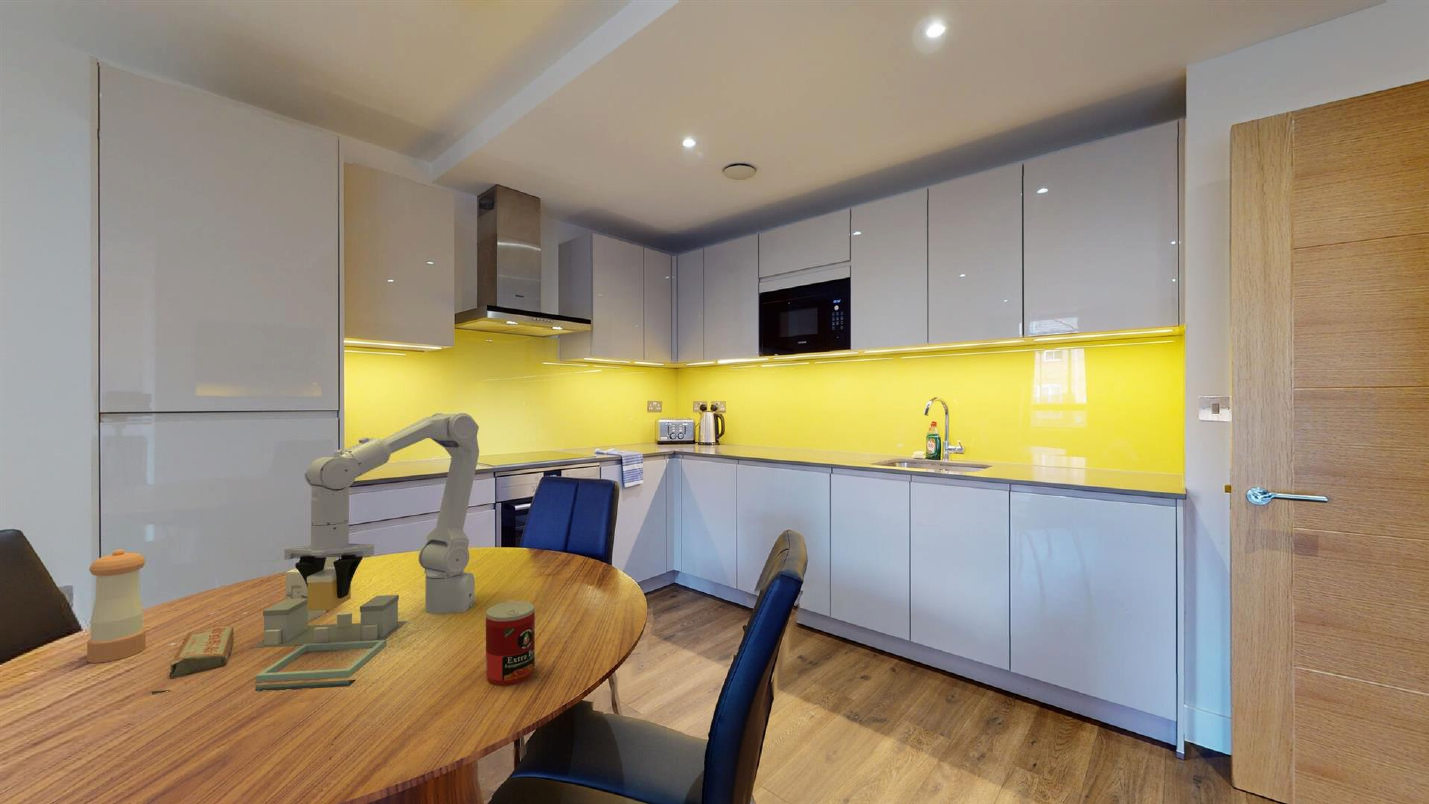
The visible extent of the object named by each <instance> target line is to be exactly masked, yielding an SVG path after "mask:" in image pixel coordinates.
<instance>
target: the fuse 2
mask: <svg viewBox="0 0 1429 804" xmlns="http://www.w3.org/2000/svg"><path fill="white" fill-rule="evenodd" d="M399 597H400V596H399V594H388V595H387V594H386V595H385V594H384V595H375V596H374V597H372V598H371V599H369V600H368V601H366V602H365V603H363V604H362V605H360V606H359V613H360V623H361V638H362V627H363V626H364V625H378V637H384V636H385V635H386V634H387V633H389V632H390V631H391V630H392V629H394V628H395V627H396V626H397V625H398V621H399V599H400V598H399Z"/></svg>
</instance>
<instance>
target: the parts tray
mask: <svg viewBox="0 0 1429 804" xmlns="http://www.w3.org/2000/svg"><path fill="white" fill-rule="evenodd" d="M385 647H387V639H386V640H374V641H354V642H333V643H313V644H304V645H302V646H298V647H297V648H296V649H294V650H293V651H291V652H289V653H288V654H287V655H285V656H284V657H282V658H281V659H279V660H277V661H276V662H274V663H273V664H271V665H270V666H269V667H267V668H265V669H263V670H262V671H261V672H259V673H258V674H256V675H255V679H254V680H255V681H254V682H255V683H266V682H267V683H270V682H282V681H283V682H284V681H285V682H286V681H289V682H290V681H305V680H306V681H307V680H308V681H309V680H322V679H323V680H324V679H339V678H343V679H344V678H350V677H351V676H352V675H353V674H355V673H356V672H357V671H358V670H360V668H362V667H363V666H364V665H366V663H368V662H369V661H370V660H371V659H372V658H373V657H375V656H376V655H377V654H378V653H379V652H381V651H382V650H383V649H384V648H385ZM359 649H360V650H361V649H362V650H363V649H368V650H367V652H365V653H364V654H363V655H361V656H360V657H359V658H358V659H357V660H355V661H354V662H353V663H351V665H349V666H348V667H347V668H336V669H335V668H334V669H333V668H331V669H316V670H296V671H280V670H281V669H283V668H284V667H286V666H287V665H289V664H290V663H291V662H293V661H294V660H296V659H298V658H299V657H300V656H302V655H303V654H305V653H306V652H322V651H339V650H340V651H342V650H359ZM278 671H279V672H278ZM355 681H357V679H348V680H347V679H344V680H341V679H340V680H327V681H325V680H324V681H309V682H292V683H291V682H290V683H276V684H275V683H272V684H255V691H258V692H264V691H263V690H275V691H287V690H286V689H293V690H303V689H302V688H310V689H321V688H322V689H324V688H325V689H326V688H341V687H342V688H345V687H350V686H351V685H353V684H354V683H355ZM255 691H254V692H255Z"/></svg>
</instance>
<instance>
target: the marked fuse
mask: <svg viewBox="0 0 1429 804" xmlns="http://www.w3.org/2000/svg"><path fill="white" fill-rule="evenodd" d="M307 583H308V611H317V610H330V611H332V610H333V609H335V608H337V607H339V606H340V605H342V604H344V603H345V602H347V601H349V600H351V595H352V593H351V591H352V589H351V588H352V587H351V586H352V583H351V584H350V588H349V592H348V595H347V596H345V597H343V598H338V596H337V576H336V571H335V567H328V568H326V569H324V570H321V571H319V572H317V573H315V574H313V575H310V576H308V577H307Z"/></svg>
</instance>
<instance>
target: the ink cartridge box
mask: <svg viewBox="0 0 1429 804" xmlns="http://www.w3.org/2000/svg"><path fill="white" fill-rule="evenodd" d="M336 560H337V557H327V558H326V561H325V565H324V569H326V568H328V567H334V564H333V562H334V561H336ZM285 588H286V589H285V595H286V596H285V600H286V599H308V588H307V585H306V583H305V580H304V579H303V577H302V575H301V574H300V572H299V571H298V570H297V569H296V568H294V569H291V570H288V571H286V572H285ZM330 611H331V610H317V611H308V622H309V621H312V620H313V619H316V618H318V617H320V616H322V615H324V614H325V613H328V612H330Z"/></svg>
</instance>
